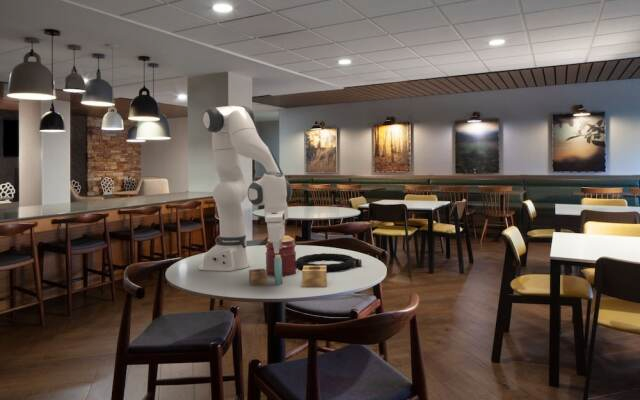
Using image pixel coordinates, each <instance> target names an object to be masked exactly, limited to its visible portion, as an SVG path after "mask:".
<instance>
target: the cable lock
mask: <svg viewBox="0 0 640 400" xmlns="http://www.w3.org/2000/svg"><path fill="white" fill-rule="evenodd" d="M322 260H324V262H325V261H331V260H332V262H333V261H334V262H339V263H321V264H320V263H313V262H320V261H321V262H322ZM341 261H342V262H341ZM324 265H326V270H327V273H333V272H334V273H337V272H344V271H348V270H350V269H355V268H362V259H361V258H360V259H359V258H356V257H353V256H351V255H347V254H345V253H344V254H342V253H313V254H306V255H303V256H299V257H298V258H296V269H297V268H298V270H301V271H302V270H303V266H324Z"/></svg>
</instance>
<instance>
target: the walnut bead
mask: <svg viewBox="0 0 640 400" xmlns="http://www.w3.org/2000/svg"><path fill="white" fill-rule="evenodd" d="M248 281H249V282H248V283H249V285H251V287H255V286H264V285H265V286H266V285H267V286H268V274H267V271H266V268H255V269H249V270H248Z"/></svg>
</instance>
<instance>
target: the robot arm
mask: <svg viewBox="0 0 640 400" xmlns="http://www.w3.org/2000/svg"><path fill="white" fill-rule="evenodd" d="M202 118H203V119H202V120H203V125H204V128H205V129H206V130H207V131H208V132H209V133H212V134H211V137H212V138H211V142H212V144H211V145H212V146H211V147H212V156H213V162H214V168H215V171H216V173H217V175H218V178H219V181H220V182H219V184H217V185H216V186H215V187H214V189H213V192H212V198H213V200H214V201H215V205H216V210H217V214H218V220H219V235H217V236H216V237H215V240H214V242H215V245H214V246H212V247H211V248H210V249H208V251H207V252H206V253H205V254H204V255H203V262H202V263H201V264H198V268H197V269H198V270H200V271H213V272H214V271H215V272H216V271H217V272H219V271H220V272H231V271H232V272H233V271H236V270H242V269H246V268H249V266H250V263H249V259H248V256H247V255H248V254H247V249H246V248H247V235H246V231H245V230H246V229H245V228H246V227H245V226H246V225H245V217H244V215H243V213H244V212H243V209H242V206H241V203H242V202H244V201H245V199H246V198H248V201H249V202H250V203H251V204H252V205H253V206H264V211H263V212H264V220H265V223H266V227H267V236H268V239H269V241H270V243H273V247H274V253H279V249H281V248H282V237H283V236H284V235H285V234H286V230H285V229H286V228H285V224H286V220H288V219H289V209H288V202H289V201H290V200H291V198H292V196H293V187H292V185H291V183H290V182H289V181H288V179H287V178H286V177H285V175H284V173H283V171H282V169H281V166H280V165H279V163H278V161H277V159H276V157H275V155H274V153H273V151H272V150H271V148H270V147H269V146H268V145H267V144H266V143H265V142H264V141H263V140H262V139H261V137H260V136H259V133H258V130H257V128H256V126H255V114H254V111H253V110H252V109H251V107H249V106H246V105H245V106H244V105H241V106H238V105H226V106H218V107H217V106H216V107H215V106H213V107H212V106H211V107H208V108H206V109H205V111H204V113H203V116H202ZM240 156H242V157H245V158H247V159H250V160H254V161H255V162H258V163H260V164H261V165H262V166H263V167H264V169H265V170H266V172H265V173H264V174H263V176H262V177H261V178H260V179H258V180H256V181H254V182H251V183H250V185H249V186H248V187H247V185H246V181H245V177H244V174H243V171H242V168H241V167H242V166H241V161H240Z"/></svg>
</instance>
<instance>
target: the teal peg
mask: <svg viewBox="0 0 640 400" xmlns="http://www.w3.org/2000/svg"><path fill="white" fill-rule="evenodd" d="M274 268H275V275H274V284H275V286H280V285H283V275H282V258H281V256H280V255H275V258H274Z"/></svg>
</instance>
